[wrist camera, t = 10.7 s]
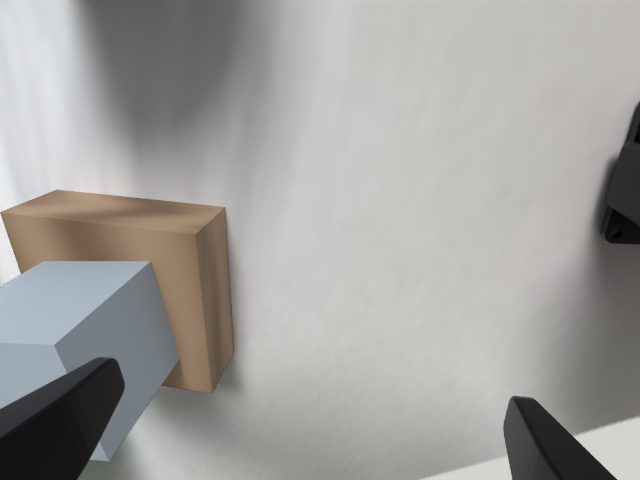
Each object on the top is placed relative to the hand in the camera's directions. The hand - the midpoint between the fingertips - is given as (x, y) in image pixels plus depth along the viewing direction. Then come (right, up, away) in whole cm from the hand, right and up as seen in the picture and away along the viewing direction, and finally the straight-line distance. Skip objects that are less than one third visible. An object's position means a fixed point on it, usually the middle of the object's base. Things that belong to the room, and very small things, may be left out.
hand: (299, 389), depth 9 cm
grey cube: (-10, 0, +12) cm, 16 cm away
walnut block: (-10, +1, +15) cm, 18 cm away
